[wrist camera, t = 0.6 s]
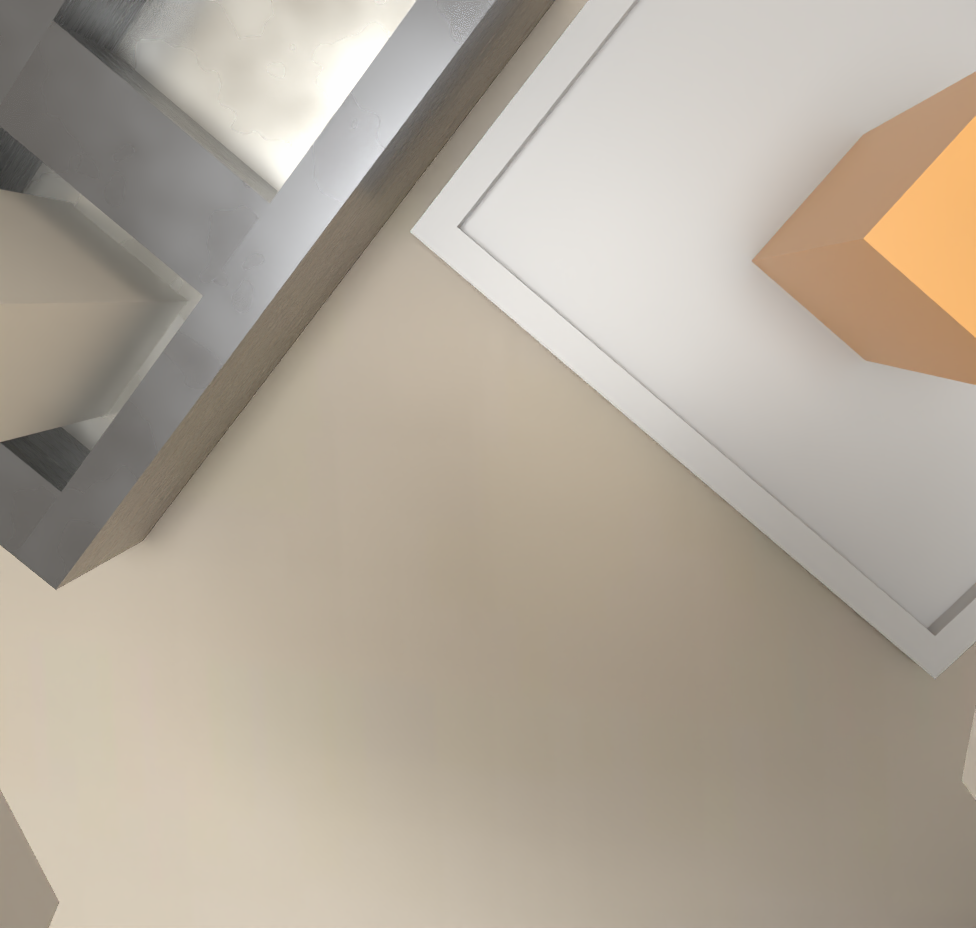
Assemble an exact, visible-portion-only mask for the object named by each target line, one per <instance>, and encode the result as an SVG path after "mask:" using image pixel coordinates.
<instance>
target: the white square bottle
mask: <svg viewBox="0 0 976 928" xmlns="http://www.w3.org/2000/svg"><path fill="white" fill-rule="evenodd" d="M187 302H188V301H187V300H186V299H184V298H183V297H182V296H181V295H180V294H178V293H177V292H176V291H175V290H174V289H172V288H171V287H170V286H169V285H168V284H166V283H165V282H164V281H163V280H162V279H161V278H159V277H158V276H157V275H156V274H155V273H153V272H152V271H151V270H150V269H149V268H147V267H146V266H145V265H144V264H143V263H141V262H140V261H139V260H138V259H137V258H135V257H134V256H133V255H132V254H131V253H129V252H128V251H127V250H126V249H125V248H123V247H122V246H121V245H120V244H119V243H117V242H116V241H115V240H114V239H113V238H111V237H110V236H109V235H108V234H107V233H105V232H104V231H103V230H102V229H101V228H99V227H98V226H97V225H96V224H95V223H93V222H92V221H91V220H90V219H89V218H87V217H86V216H85V215H84V214H83V213H81V212H80V211H79V210H78V209H77V208H75V207H74V206H73V205H72V204H71V203H69V202H66V201H61V200H56V199H50V198H45V197H39V196H34V195H29V194H23V193H18V192H12V191H7V190H2V189H0V442H3V441H7V440H11V439H15V438H18V437H22V436H26V435H30V434H34V433H38V432H42V431H46V430H50V429H54V428H58V427H62V426H66V425H70V424H74V423H77V422H81V421H85V420H89V419H93V418H97V417H101V416H105V415H106V414H107V413H108V412H109V410H110V409H111V407H112V406H113V405H114V403H115V402H116V400H117V399H118V398H119V396H120V395H121V393H122V392H123V391H124V389H125V388H126V387H127V385H128V384H129V382H130V381H131V380H132V378H133V377H134V375H135V374H136V373H137V371H138V370H139V368H140V367H141V366H142V364H143V363H144V362H145V360H146V359H147V357H148V356H149V355H150V353H151V352H152V350H153V349H154V348H155V346H156V345H157V343H158V342H159V341H160V339H161V338H162V337H163V335H164V334H165V332H166V331H167V330H168V328H169V327H170V325H171V324H172V323H173V321H174V320H175V318H176V317H177V316H178V314H179V313H180V311H181V310H182V309H183V307H184V306H185V305H186V303H187Z"/></svg>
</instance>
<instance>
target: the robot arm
mask: <svg viewBox="0 0 976 928" xmlns="http://www.w3.org/2000/svg"><path fill="white" fill-rule="evenodd" d="M961 781H962V782H963V784H964V785H965V786H966V788H967V789H968V791H969V792H970V793H971V795H972V796H973V798H974V799H975V800H976V707H975V712H974V717H973V722H972V728H971V733H970V738H969V743H968V749H967V754H966V759H965V764H964V770H963V775H962V780H961ZM58 904H59V901H58V899H57V897H56V895H55V893H54V891H53V889H52V887H51V885H50V884H49V882H48V880H47V878H46V876H45V874H44V872H43V870H42V868H41V866H40V864H39V863H38V861H37V859H36V857H35V855H34V853H33V851H32V849H31V847H30V845H29V843H28V841H27V840H26V838H25V836H24V834H23V832H22V830H21V828H20V826H19V824H18V822H17V820H16V819H15V817H14V815H13V813H12V811H11V809H10V807H9V805H8V803H7V801H6V799H5V797H4V796H3V794H2V792H1V790H0V928H49V925H50V923H51V921H52V918H53V916H54V913H55V911H56V909H57V906H58Z"/></svg>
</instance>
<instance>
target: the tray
mask: <svg viewBox="0 0 976 928" xmlns="http://www.w3.org/2000/svg"><path fill="white" fill-rule="evenodd" d="M974 72H976V0H588V2H587V3H586V4H585V5H584V7H583V8H582V9H581V11H580V12H579V13H578V15H577V16H576V17H575V18H574V20H573V21H572V22H571V24H570V25H569V26H568V28H567V29H566V30H565V31H564V33H563V34H562V35H561V37H560V38H559V39H558V40H557V42H556V43H555V44H554V46H553V47H552V48H551V50H550V51H549V52H548V53H547V55H546V56H545V57H544V59H543V60H542V61H541V62H540V64H539V65H538V66H537V68H536V69H535V70H534V72H533V73H532V74H531V75H530V77H529V78H528V79H527V81H526V82H525V83H524V84H523V86H522V87H521V88H520V90H519V91H518V92H517V94H516V95H515V96H514V97H513V99H512V100H511V101H510V103H509V104H508V105H507V106H506V108H505V109H504V110H503V112H502V113H501V114H500V116H499V117H498V118H497V119H496V121H495V122H494V123H493V125H492V126H491V127H490V128H489V130H488V131H487V132H486V134H485V135H484V136H483V138H482V139H481V140H480V141H479V143H478V144H477V145H476V147H475V148H474V149H473V150H472V152H471V153H470V154H469V156H468V157H467V158H466V160H465V161H464V162H463V163H462V165H461V166H460V167H459V169H458V170H457V171H456V172H455V174H454V175H453V176H452V178H451V179H450V180H449V182H448V183H447V184H446V185H445V187H444V188H443V189H442V191H441V192H440V193H439V195H438V196H437V197H436V198H435V200H434V201H433V202H432V204H431V205H430V206H429V207H428V209H427V210H426V211H425V213H424V214H423V215H422V217H421V218H420V219H419V220H418V222H417V223H416V224H415V226H414V227H413V228H412V229H411V231H410V232H411V233H412V234H413V235H414V236H415V237H417V238H418V239H419V240H420V241H421V242H422V243H424V244H425V245H426V246H427V247H428V248H429V249H431V250H432V251H433V252H434V253H435V254H437V255H438V256H439V257H440V258H441V259H442V260H444V261H445V262H446V263H447V264H448V265H449V266H451V267H452V268H453V269H454V270H455V271H456V272H458V273H459V274H460V275H461V276H462V277H463V278H465V279H466V280H467V281H468V282H469V283H471V284H472V285H473V286H474V287H475V288H476V289H478V290H479V291H480V292H481V293H482V294H483V295H485V296H486V297H487V298H488V299H489V300H490V301H492V302H493V303H494V304H495V305H496V306H498V307H499V308H500V309H501V310H502V311H503V312H505V313H506V314H507V315H508V316H509V317H510V318H512V319H513V320H514V321H515V322H516V323H517V324H519V325H520V326H521V327H522V328H523V329H525V330H526V331H527V332H528V333H529V334H530V335H532V336H533V337H534V338H535V339H536V340H537V341H539V342H540V343H541V344H542V345H543V346H544V347H546V348H547V349H548V350H549V351H550V352H552V353H553V354H554V355H555V356H556V357H557V358H559V359H560V360H561V361H562V362H563V363H564V364H566V365H567V366H568V367H569V368H570V369H571V370H573V371H574V372H575V373H576V374H577V375H578V376H580V377H581V378H582V379H583V380H584V381H586V382H587V383H588V384H589V385H590V386H591V387H593V388H594V389H595V390H596V391H597V392H598V393H600V394H601V395H602V396H603V397H604V398H605V399H607V400H608V401H609V402H610V403H611V404H613V405H614V406H615V407H616V408H617V409H618V410H620V411H621V412H622V413H623V414H624V415H625V416H627V417H628V418H629V419H630V420H631V421H632V422H634V423H635V424H636V425H637V426H638V427H640V428H641V429H642V430H643V431H644V432H645V433H647V434H648V435H649V436H650V437H651V438H652V439H654V440H655V441H656V442H657V443H658V444H659V445H661V446H662V447H663V448H664V449H665V450H666V451H668V452H669V453H670V454H671V455H672V456H674V457H675V458H676V459H677V460H678V461H679V462H681V463H682V464H683V465H684V466H685V467H686V468H688V469H689V470H690V471H691V472H692V473H693V474H695V475H696V476H697V477H698V478H699V479H701V480H702V481H703V482H704V483H705V484H706V485H708V486H709V487H710V488H711V489H712V490H713V491H715V492H716V493H717V494H718V495H719V496H720V497H722V498H723V499H724V500H725V501H726V502H728V503H729V504H730V505H731V506H732V507H733V508H735V509H736V510H737V511H738V512H739V513H740V514H742V515H743V516H744V517H745V518H746V519H747V520H749V521H750V522H751V523H752V524H753V525H754V526H756V527H757V528H758V529H759V530H760V531H762V532H763V533H764V534H765V535H766V536H767V537H769V538H770V539H771V540H772V541H773V542H774V543H776V544H777V545H778V546H779V547H780V548H781V549H783V550H784V551H785V552H786V553H787V554H789V555H790V556H791V557H792V558H793V559H794V560H796V561H797V562H798V563H799V564H800V565H801V566H803V567H804V568H805V569H806V570H807V571H808V572H810V573H811V574H812V575H813V576H814V577H816V578H817V579H818V580H819V581H820V582H821V583H823V584H824V585H825V586H826V587H827V588H828V589H830V590H831V591H832V592H833V593H834V594H835V595H837V596H838V597H839V598H840V599H841V600H842V601H844V602H845V603H846V604H847V605H848V606H850V607H851V608H852V609H853V610H854V611H855V612H857V613H858V614H859V615H860V616H861V617H862V618H864V619H865V620H866V621H867V622H868V623H869V624H871V625H872V626H873V627H874V628H875V629H877V630H878V631H879V632H880V633H881V634H882V635H884V636H885V637H886V638H887V639H888V640H889V641H891V642H892V643H893V644H894V645H895V646H896V647H898V648H899V649H900V650H901V651H902V652H904V653H905V654H906V655H907V656H908V657H909V658H911V659H912V660H913V661H914V662H915V663H916V664H918V665H919V666H920V667H921V668H922V669H923V670H925V671H926V672H927V673H928V674H929V675H930V676H932V677H933V678H934V679H936V678H937V677H938V676H939V675H940V674H941V673H942V672H944V671H945V670H946V669H947V668H948V667H949V666H950V665H951V664H952V663H953V662H954V661H955V660H957V659H958V658H959V657H960V656H961V655H962V654H963V653H964V652H965V651H966V650H967V649H968V648H970V647H971V646H972V645H973V644H974V643H975V642H976V385H973V384H969V383H964V382H960V381H955V380H951V379H946V378H942V377H937V376H933V375H928V374H924V373H919V372H915V371H910V370H906V369H901V368H897V367H892V366H888V365H883V364H879V363H874V362H870V361H865V360H864V359H863V358H862V357H861V356H860V355H859V354H857V353H856V352H855V351H854V350H853V349H852V348H851V347H849V346H848V345H847V344H846V343H845V342H844V341H843V340H841V339H840V338H839V337H838V336H837V335H836V334H834V333H833V332H832V331H831V330H830V329H829V328H828V327H826V326H825V325H824V324H823V323H822V322H821V321H820V320H818V319H817V318H816V317H815V316H814V315H813V314H812V313H810V312H809V311H808V310H807V309H806V308H805V307H804V306H802V305H801V304H800V303H799V302H798V301H797V300H795V299H794V298H793V297H792V296H791V295H790V294H789V293H787V292H786V291H785V290H784V289H783V288H782V287H781V286H779V285H778V284H777V283H776V282H775V281H774V280H773V279H771V278H770V277H769V276H768V275H767V274H766V273H765V272H763V271H762V270H761V269H760V268H759V267H758V266H756V265H755V264H754V263H753V262H752V260H753V258H754V257H755V256H756V255H757V254H758V253H759V252H760V251H761V249H762V248H763V247H764V246H765V245H766V244H767V243H768V241H769V240H770V239H771V238H772V237H773V236H774V235H775V234H776V232H777V231H778V230H779V229H780V228H781V227H782V226H783V225H784V223H785V222H786V221H787V220H788V219H789V218H790V217H791V216H792V214H793V213H794V212H795V211H796V210H797V209H798V208H799V206H800V205H801V204H802V203H803V202H804V201H805V200H806V199H807V197H808V196H809V195H810V194H811V193H812V192H813V191H814V190H815V188H816V187H817V186H818V185H819V184H820V183H821V182H822V181H823V179H824V178H825V177H826V176H827V175H828V174H829V173H830V171H831V170H832V169H833V168H834V167H835V166H836V165H837V164H838V162H839V161H840V160H841V159H842V158H843V157H844V156H845V155H846V153H847V152H848V151H849V150H850V149H851V148H852V147H853V146H854V144H855V143H856V142H857V141H858V140H859V139H860V138H861V136H862V135H863V134H865V133H867V132H869V131H870V130H872V129H874V128H876V127H878V126H879V125H881V124H883V123H885V122H886V121H888V120H890V119H892V118H894V117H895V116H897V115H899V114H901V113H903V112H904V111H906V110H908V109H910V108H911V107H913V106H915V105H917V104H919V103H920V102H922V101H924V100H926V99H927V98H929V97H931V96H933V95H935V94H936V93H938V92H940V91H942V90H944V89H945V88H947V87H949V86H951V85H952V84H954V83H956V82H958V81H960V80H961V79H963V78H965V77H967V76H968V75H970V74H972V73H974Z"/></svg>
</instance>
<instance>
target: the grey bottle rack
mask: <svg viewBox="0 0 976 928" xmlns="http://www.w3.org/2000/svg"><path fill="white" fill-rule="evenodd" d="M554 1H555V0H0V189H2V190H7V191H12V192H18V193H23V194H29V195H34V196H39V197H45V198H50V199H56V200H61V201H66V202H69V203H71V204H72V205H73V206H74V207H75V208H77V209H78V210H79V211H80V212H81V213H83V214H84V215H85V216H86V217H87V218H89V219H90V220H91V221H92V222H93V223H95V224H96V225H97V226H98V227H99V228H101V229H102V230H103V231H104V232H105V233H107V234H108V235H109V236H110V237H111V238H113V239H114V240H115V241H116V242H117V243H119V244H120V245H121V246H122V247H123V248H125V249H126V250H127V251H128V252H129V253H131V254H132V255H133V256H134V257H135V258H137V259H138V260H139V261H140V262H141V263H143V264H144V265H145V266H146V267H147V268H149V269H150V270H151V271H152V272H153V273H155V274H156V275H157V276H158V277H159V278H161V279H162V280H163V281H164V282H165V283H166V284H168V285H169V286H170V287H171V288H172V289H174V290H175V291H176V292H177V293H178V294H180V295H181V296H182V297H183V298H184V299H186V300H187V301H188V302H187V303H186V305H185V306H184V307H183V309H182V310H181V311H180V313H179V314H178V316H177V317H176V318H175V320H174V321H173V323H172V324H171V325H170V327H169V328H168V330H167V331H166V332H165V334H164V335H163V337H162V338H161V339H160V341H159V342H158V343H157V345H156V346H155V348H154V349H153V350H152V352H151V353H150V355H149V356H148V357H147V359H146V360H145V362H144V363H143V364H142V366H141V367H140V368H139V370H138V371H137V373H136V374H135V375H134V377H133V378H132V380H131V381H130V382H129V384H128V385H127V387H126V388H125V389H124V391H123V392H122V393H121V395H120V396H119V398H118V399H117V400H116V402H115V403H114V405H113V406H112V407H111V409H110V410H109V412H108V413H107V414H106V415H105V416H101V417H97V418H93V419H89V420H85V421H81V422H77V423H74V424H70V425H66V426H62V427H58V428H54V429H50V430H46V431H42V432H38V433H34V434H30V435H26V436H22V437H18V438H15V439H11V440H7V441H3V442H0V545H1V546H2V547H4V548H5V549H6V550H7V551H8V552H10V553H11V554H12V555H13V556H15V557H16V558H17V559H18V560H20V561H21V562H22V563H23V564H25V565H26V566H27V567H28V568H30V569H31V570H32V571H33V572H35V573H36V574H37V575H38V576H40V577H41V578H42V579H43V580H44V581H46V582H47V583H48V584H49V585H51V586H52V587H53V588H54V589H56V590H57V589H58V588H60V587H62V586H64V585H65V584H67V583H69V582H71V581H72V580H74V579H76V578H78V577H80V576H81V575H83V574H85V573H87V572H88V571H90V570H92V569H94V568H95V567H97V566H99V565H101V564H103V563H104V562H106V561H108V560H110V559H111V558H113V557H115V556H117V555H118V554H120V553H122V552H124V551H125V550H127V549H129V548H131V547H133V546H134V545H136V544H138V543H140V542H141V541H143V539H144V538H145V537H146V535H147V534H148V533H149V532H150V530H151V529H152V528H153V526H154V525H155V524H156V522H157V521H158V520H159V518H160V517H161V516H162V515H163V513H164V512H165V511H166V509H167V508H168V507H169V505H170V504H171V503H172V501H173V500H174V499H175V497H176V496H177V495H178V494H179V492H180V491H181V490H182V488H183V487H184V486H185V484H186V483H187V482H188V480H189V479H190V478H191V476H192V475H193V474H194V473H195V471H196V470H197V469H198V467H199V466H200V465H201V463H202V462H203V461H204V459H205V458H206V457H207V456H208V454H209V453H210V452H211V450H212V449H213V448H214V446H215V445H216V444H217V442H218V441H219V440H220V438H221V437H222V436H223V435H224V433H225V432H226V431H227V429H228V428H229V427H230V425H231V424H232V423H233V421H234V420H235V419H236V417H237V416H238V415H239V414H240V412H241V411H242V410H243V408H244V407H245V406H246V404H247V403H248V402H249V400H250V399H251V398H252V397H253V395H254V394H255V393H256V391H257V390H258V389H259V387H260V386H261V385H262V383H263V382H264V381H265V379H266V378H267V377H268V376H269V374H270V373H271V372H272V370H273V369H274V368H275V366H276V365H277V364H278V362H279V361H280V360H281V358H282V357H283V356H284V355H285V353H286V352H287V351H288V349H289V348H290V347H291V345H292V344H293V343H294V341H295V340H296V339H297V338H298V336H299V335H300V334H301V332H302V331H303V330H304V328H305V327H306V326H307V324H308V323H309V322H310V320H311V319H312V318H313V317H314V315H315V314H316V313H317V311H318V310H319V309H320V307H321V306H322V305H323V303H324V302H325V301H326V299H327V298H328V297H329V296H330V294H331V293H332V292H333V290H334V289H335V288H336V286H337V285H338V284H339V282H340V281H341V280H342V279H343V277H344V276H345V275H346V273H347V272H348V271H349V269H350V268H351V267H352V265H353V264H354V263H355V261H356V260H357V259H358V258H359V256H360V255H361V254H362V252H363V251H364V250H365V248H366V247H367V246H368V244H369V243H370V242H371V240H372V239H373V238H374V237H375V235H376V234H377V233H378V231H379V230H380V229H381V227H382V226H383V225H384V223H385V222H386V221H387V220H388V218H389V217H390V216H391V214H392V213H393V212H394V210H395V209H396V208H397V206H398V205H399V204H400V202H401V201H402V200H403V199H404V197H405V196H406V195H407V193H408V192H409V191H410V189H411V188H412V187H413V185H414V184H415V183H416V181H417V180H418V179H419V178H420V176H421V175H422V174H423V172H424V171H425V170H426V168H427V167H428V166H429V164H430V163H431V162H432V161H433V159H434V158H435V157H436V155H437V154H438V153H439V151H440V150H441V149H442V147H443V146H444V145H445V143H446V142H447V141H448V140H449V138H450V137H451V136H452V134H453V133H454V132H455V130H456V129H457V128H458V126H459V125H460V124H461V122H462V121H463V120H464V119H465V117H466V116H467V115H468V113H469V112H470V111H471V109H472V108H473V107H474V105H475V104H476V103H477V102H478V100H479V99H480V98H481V96H482V95H483V94H484V92H485V91H486V90H487V88H488V87H489V86H490V84H491V83H492V82H493V81H494V79H495V78H496V77H497V75H498V74H499V73H500V71H501V70H502V69H503V67H504V66H505V65H506V63H507V62H508V61H509V60H510V58H511V57H512V56H513V54H514V53H515V52H516V50H517V49H518V48H519V46H520V45H521V44H522V43H523V41H524V40H525V39H526V37H527V36H528V35H529V33H530V32H531V31H532V29H533V28H534V27H535V25H536V24H537V23H538V22H539V20H540V19H541V18H542V16H543V15H544V14H545V12H546V11H547V10H548V8H549V7H550V6H551V4H552V3H553V2H554Z"/></svg>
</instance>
